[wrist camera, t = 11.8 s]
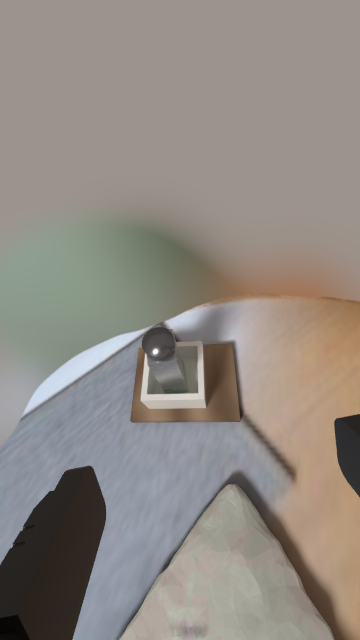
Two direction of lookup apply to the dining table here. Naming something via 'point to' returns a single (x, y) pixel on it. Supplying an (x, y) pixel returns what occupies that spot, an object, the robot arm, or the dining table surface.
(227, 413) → the board
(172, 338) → the capped metal post
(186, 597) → the stone
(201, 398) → the holder
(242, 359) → the dining table surface
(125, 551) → the dining table surface
